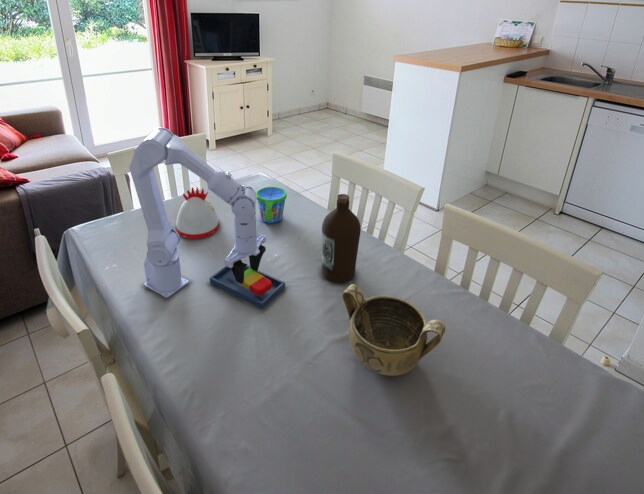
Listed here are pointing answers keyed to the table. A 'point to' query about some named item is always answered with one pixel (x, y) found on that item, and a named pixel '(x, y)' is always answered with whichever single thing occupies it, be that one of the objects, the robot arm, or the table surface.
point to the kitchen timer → (196, 216)
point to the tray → (227, 283)
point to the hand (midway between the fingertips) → (246, 275)
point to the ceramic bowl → (388, 332)
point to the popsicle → (256, 282)
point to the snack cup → (271, 203)
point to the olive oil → (340, 242)
